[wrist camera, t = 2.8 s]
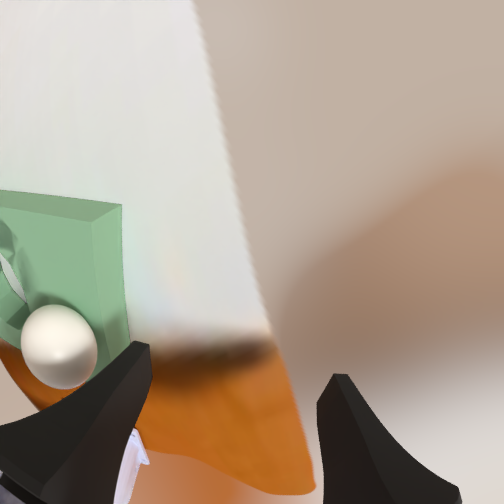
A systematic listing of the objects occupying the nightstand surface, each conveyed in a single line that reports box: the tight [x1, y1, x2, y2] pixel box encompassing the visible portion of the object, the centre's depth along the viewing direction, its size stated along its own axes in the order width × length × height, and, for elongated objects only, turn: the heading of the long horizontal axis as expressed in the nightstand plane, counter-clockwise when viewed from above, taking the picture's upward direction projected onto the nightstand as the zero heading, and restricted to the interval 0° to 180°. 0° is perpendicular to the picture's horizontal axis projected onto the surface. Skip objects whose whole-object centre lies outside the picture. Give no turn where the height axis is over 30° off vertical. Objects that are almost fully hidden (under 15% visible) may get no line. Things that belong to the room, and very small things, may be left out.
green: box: [0, 190, 130, 382], centre depth 11 cm, size 10×14×2 cm
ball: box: [21, 304, 97, 389], centre depth 9 cm, size 4×4×4 cm
